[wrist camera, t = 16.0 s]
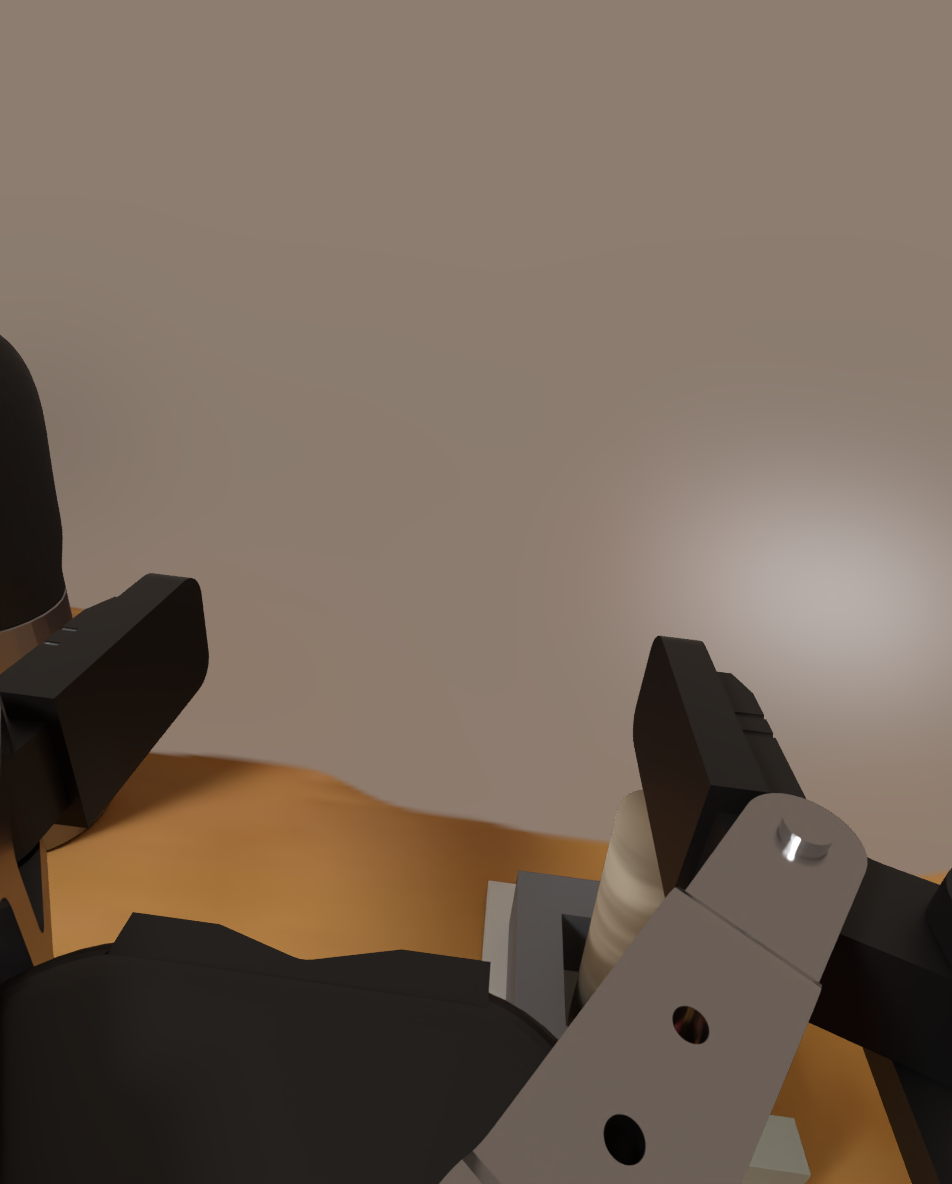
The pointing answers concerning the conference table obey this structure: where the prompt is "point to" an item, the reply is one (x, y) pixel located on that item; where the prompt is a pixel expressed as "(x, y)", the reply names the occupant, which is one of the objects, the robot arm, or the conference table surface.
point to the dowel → (620, 898)
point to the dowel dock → (549, 973)
